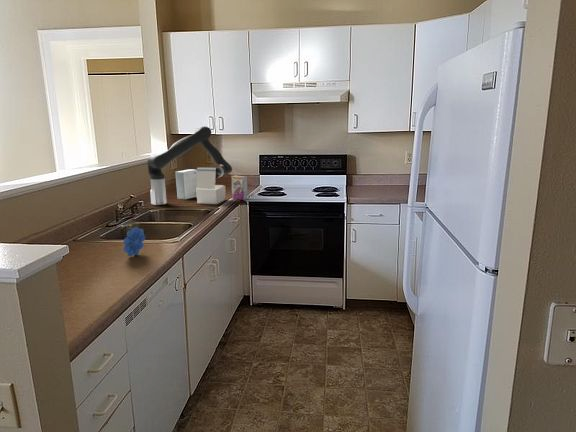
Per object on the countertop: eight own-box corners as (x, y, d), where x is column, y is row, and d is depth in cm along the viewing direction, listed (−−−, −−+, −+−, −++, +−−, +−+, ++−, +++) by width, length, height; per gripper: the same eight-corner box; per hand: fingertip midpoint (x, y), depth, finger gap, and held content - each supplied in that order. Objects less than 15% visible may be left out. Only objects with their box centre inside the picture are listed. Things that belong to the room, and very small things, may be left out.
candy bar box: (231, 198, 303) (230, 176, 299) (236, 197, 307) (235, 175, 304) (243, 200, 297) (242, 177, 293) (248, 199, 301) (247, 176, 298)
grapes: (138, 249, 185) (136, 223, 182) (150, 251, 182) (147, 225, 179) (117, 257, 175) (114, 229, 172) (129, 259, 172) (126, 231, 169)
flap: (214, 188, 280) (215, 167, 279) (196, 188, 283) (197, 167, 282) (215, 188, 281) (215, 167, 280) (197, 188, 283) (197, 167, 283)
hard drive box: (192, 195, 317) (190, 169, 312) (199, 196, 313) (198, 169, 309) (176, 198, 304) (175, 171, 299) (184, 199, 300) (183, 172, 296)
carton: (217, 204, 283) (217, 189, 281) (196, 203, 286) (195, 188, 284) (226, 199, 299) (225, 185, 297) (206, 199, 302) (205, 184, 300)
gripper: (208, 167, 300) (198, 169, 284) (225, 167, 298) (216, 170, 281) (208, 177, 302) (198, 180, 286) (225, 177, 299) (216, 181, 283)
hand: (207, 175), depth 283 cm, fingers closed
